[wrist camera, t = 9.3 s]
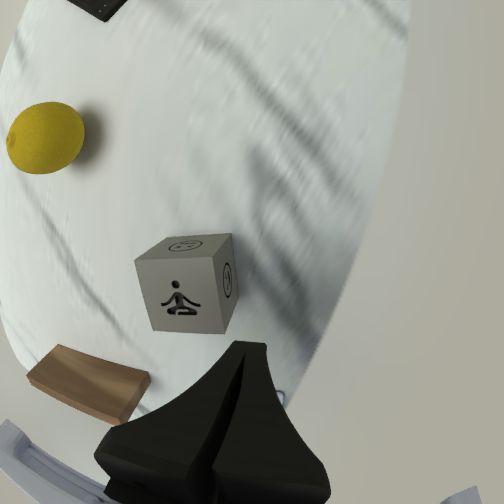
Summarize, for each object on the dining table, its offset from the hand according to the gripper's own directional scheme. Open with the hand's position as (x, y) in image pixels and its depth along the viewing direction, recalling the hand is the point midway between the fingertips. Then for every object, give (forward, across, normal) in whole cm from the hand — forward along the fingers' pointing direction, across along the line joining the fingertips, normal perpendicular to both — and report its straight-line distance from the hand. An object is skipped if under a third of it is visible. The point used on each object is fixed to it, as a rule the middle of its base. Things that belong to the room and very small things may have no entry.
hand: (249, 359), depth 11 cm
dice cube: (+10, +5, 0) cm, 11 cm away
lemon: (+10, +16, -11) cm, 22 cm away
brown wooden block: (+9, +19, +13) cm, 25 cm away
